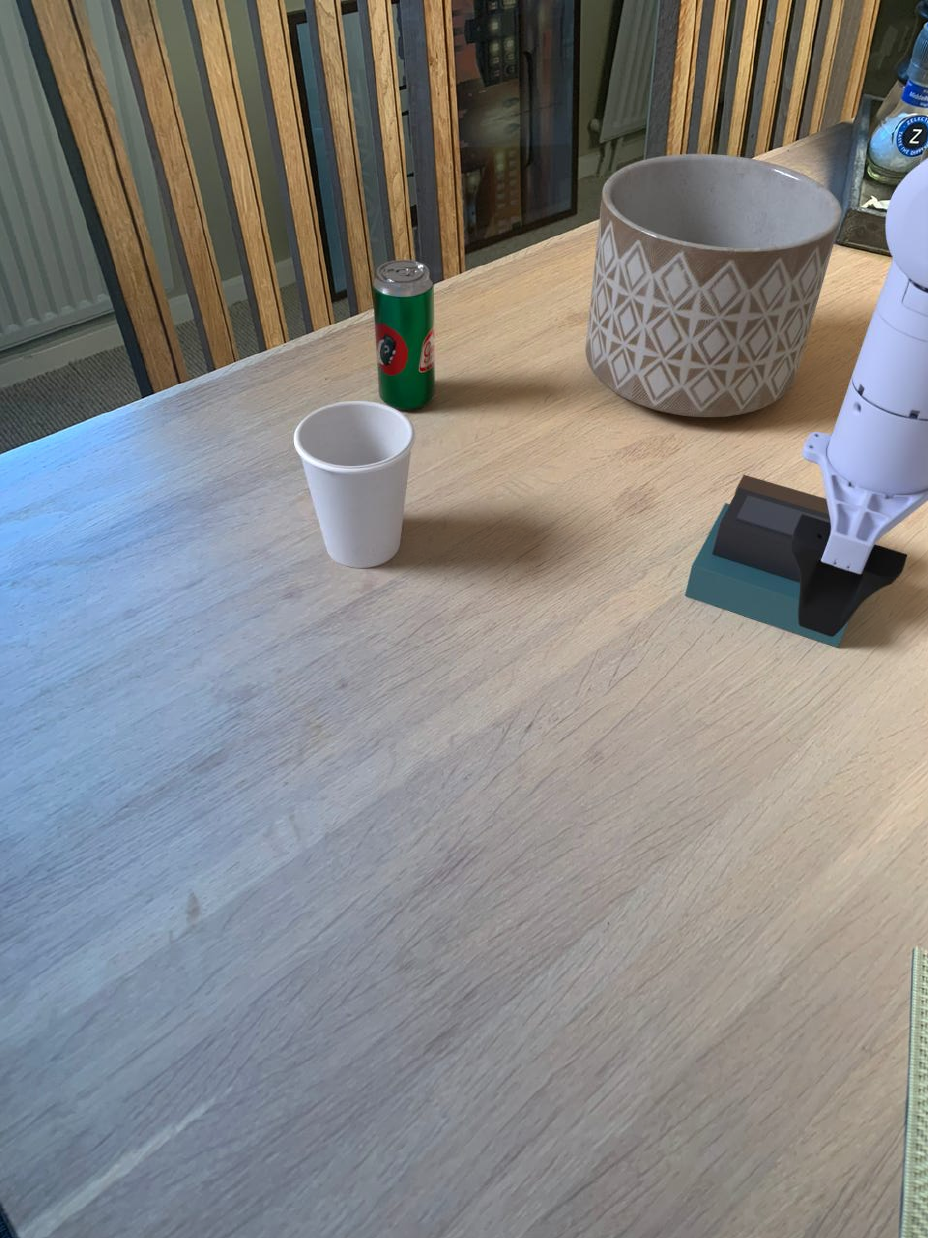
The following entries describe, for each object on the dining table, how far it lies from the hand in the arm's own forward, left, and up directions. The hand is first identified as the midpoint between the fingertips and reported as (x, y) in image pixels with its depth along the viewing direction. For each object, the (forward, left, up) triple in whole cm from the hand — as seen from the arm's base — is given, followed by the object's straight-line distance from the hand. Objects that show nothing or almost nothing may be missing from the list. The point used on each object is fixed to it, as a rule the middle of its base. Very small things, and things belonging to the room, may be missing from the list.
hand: (832, 587), depth 59 cm
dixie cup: (+33, +1, -10) cm, 34 cm away
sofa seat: (+4, -9, -9) cm, 14 cm away
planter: (+19, -34, -10) cm, 40 cm away
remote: (+4, -9, -6) cm, 12 cm away
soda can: (+40, -18, -10) cm, 45 cm away
